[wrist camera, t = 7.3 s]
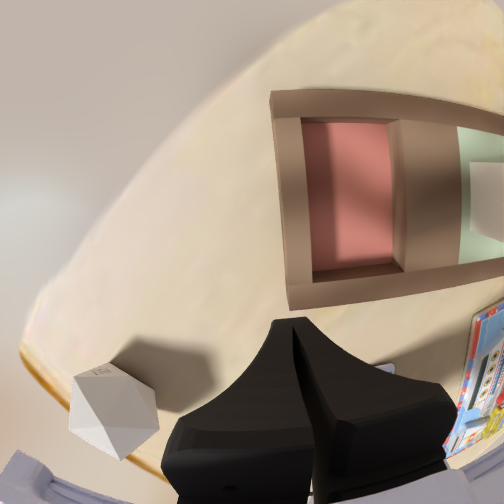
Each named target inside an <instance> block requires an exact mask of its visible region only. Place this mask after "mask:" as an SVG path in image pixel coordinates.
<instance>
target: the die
mask: <svg viewBox="0 0 504 504" xmlns="http://www.w3.org/2000/svg"><path fill="white" fill-rule="evenodd" d="M69 416H70V417H69V430H70V431H71V432H73V433H75V434H76V435H77V436H79V437H81V438H82V439H84V440H85V441H87V442H88V443H90V444H92V445H93V446H95V447H97V448H98V449H100V450H102V451H103V452H105V453H107V454H109V455H111V456H112V457H114V458H116V459H118V460H120V461H121V460H123V459H124V458H125V457H126V456H128V455H129V454H130V453H131V452H133V451H134V450H135V449H136V448H138V447H139V446H140V445H141V444H142V443H144V442H145V441H146V440H147V439H148V438H150V437H151V436H152V435H153V434H154V433H156V432H157V431H158V430H159V429H160V428H159V421H158V414H157V406H156V398H155V390H153V389H152V388H150V387H148V386H146V385H145V384H143V383H141V382H140V381H138V380H136V379H135V378H133V377H132V376H130V375H128V374H127V373H125V372H123V371H122V370H120V369H119V368H117V367H115V366H114V365H112V364H111V363H106V364H104V365H101V366H99V367H96V368H94V369H91V370H89V371H86V372H84V373H81V374H79V375H76V376H74V377H73V384H72V392H71V403H70V415H69Z"/></svg>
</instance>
